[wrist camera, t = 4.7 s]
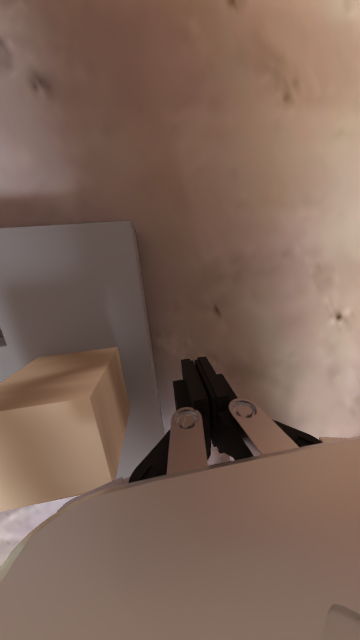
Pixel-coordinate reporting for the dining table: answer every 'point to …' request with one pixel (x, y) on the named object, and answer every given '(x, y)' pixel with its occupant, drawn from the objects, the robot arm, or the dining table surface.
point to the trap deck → (81, 312)
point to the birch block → (61, 426)
